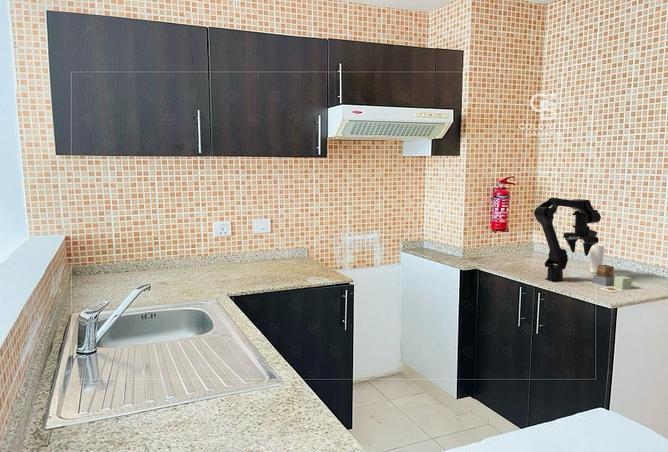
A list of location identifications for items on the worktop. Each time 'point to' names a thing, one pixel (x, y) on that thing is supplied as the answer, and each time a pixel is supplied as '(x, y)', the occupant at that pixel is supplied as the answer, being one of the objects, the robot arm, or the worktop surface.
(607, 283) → the slate base block
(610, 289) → the card
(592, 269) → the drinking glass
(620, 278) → the sage block
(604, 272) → the walnut block
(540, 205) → the robot arm
